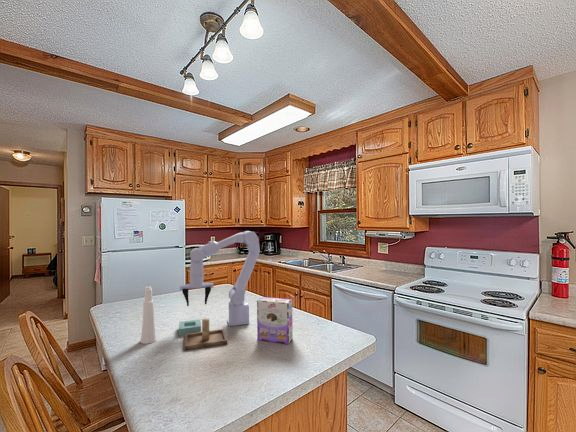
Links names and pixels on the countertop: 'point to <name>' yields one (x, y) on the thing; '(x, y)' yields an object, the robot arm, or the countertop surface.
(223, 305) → the countertop surface
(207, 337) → the pin
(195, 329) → the teal square ring
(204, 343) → the tray
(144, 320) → the cosmetic bottle
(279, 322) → the candy box
